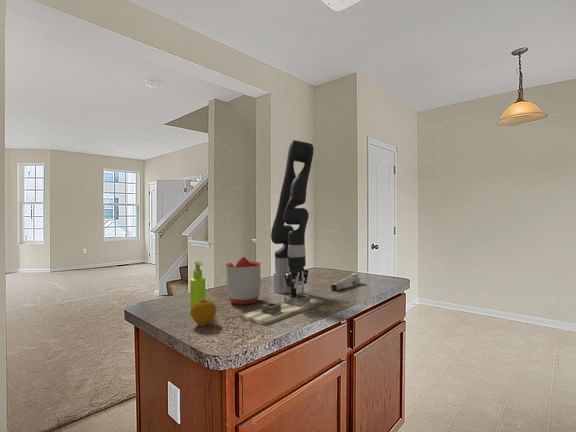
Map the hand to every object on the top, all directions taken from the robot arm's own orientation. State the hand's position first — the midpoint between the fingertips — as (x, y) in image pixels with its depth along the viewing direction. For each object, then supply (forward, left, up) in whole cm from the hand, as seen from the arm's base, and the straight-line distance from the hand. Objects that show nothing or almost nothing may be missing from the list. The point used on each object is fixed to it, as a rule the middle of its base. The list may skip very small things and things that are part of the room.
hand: (297, 295), depth 137 cm
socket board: (0, -8, -4) cm, 9 cm away
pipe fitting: (0, 0, -2) cm, 2 cm away
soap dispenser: (-26, -31, -4) cm, 41 cm away
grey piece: (-2, +43, -5) cm, 44 cm away
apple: (-11, -39, -4) cm, 41 cm away
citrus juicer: (-24, -9, -4) cm, 26 cm away
